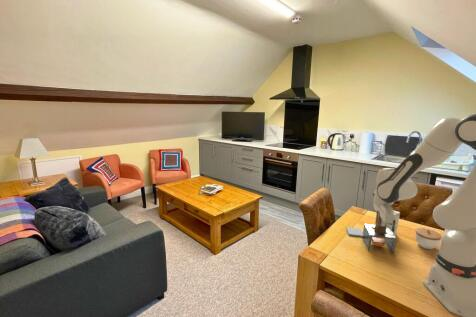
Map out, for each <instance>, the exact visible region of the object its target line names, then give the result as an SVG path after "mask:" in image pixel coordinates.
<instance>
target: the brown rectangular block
mask: <svg viewBox="0 0 476 317" xmlns="http://www.w3.org/2000/svg"><path fill="white" fill-rule="evenodd" d="M381 221H382V219H381V217H380V213H379V211H378V210H377V211H376V216H375V223H374V225H375V229H373V230H374V232H375V233H382V234H385V233H386V226H387V223H385V226H381ZM376 238H377V237H376ZM382 239H383V240H384V239H385V238H382Z"/></svg>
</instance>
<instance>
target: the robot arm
mask: <svg viewBox="0 0 476 317" xmlns="http://www.w3.org/2000/svg"><path fill="white" fill-rule="evenodd" d="M462 144H465V145H467V146H469V147H470V148H472V149H473V150H474V151H476V113H474V114H470V115H468V116H466V117H463V119H460V118H456V117H447V118H442V119H441V120H440V121H439V122H438V123H437V124H436V125H434V126H433V127H432V128H431V130H429V132H428V133H427V134H426V136H425V137H423V139H422V141H420V142H419V144H418V145H417V147H416V148H415V149H414V150H413V151H412V152H411V153H410V154H408V156H407V157H406V158H404V159H403V161H402V162H401V163H399V164H398V166H397V167H396V168H394V167H385V168H384V167H383V168H380V169H379V170H378V171H377V175H376V179H375V180H376V181H375V185H376V186H375V190H374V191H373V192H372V197H373V198H372V203H373V204H372V206H373V208H374V210H375V212H377V210H378V211H379V213H380V217H381V219H382V221H381V226H385V223H390V224H392V223H393V216H394V211H395V210H394V208H393V207H392V206H393V205H394V204H395V202H398V201H399V202H400V201H404V200H408V199H413V198H416V196H417V195H418V192H419V187H418V185H417V183H416V182H415V181H414V180H413V179H411V178H412V177H413V176H414V175H416V174H417V173H418V172H421V171H422V170H426V169H428V168H429V169H430V168H432V167H435V166H437V165H438V166H439V165H441V164H443V163H444V162H446V161H447V160H449V158H451V156H452V155H453V154H454V153H455V152H456V151H457V150H458V148H459V147H460V146H461V145H462ZM432 218H433V220H434V222H435V223H436V225H437V226H439V227H440V228H442V229H444V230H446V231H445V232H444V233H443V235H441V240H440V244H439V245H440V246H439V250H437V253H436V255H435V262H434V263H433V264H432V265H431V267H430V268H429V272H428V274H427V278H426V279H424V280H423V281H422V284H423V285H424V286H425V287H426V288H427V289H428V291H429V292H430V293H432V295H433V296H434V297H435V298H436V299H437V300H438V301H439V303H441V305H442V306H444V307H445V308H446V309H447V311H449V312H450V313H453V314H454V315H456V316H459V317H476V163H474V166H473V167H472V168H471V170H470V171H469V174H468V175H467V176H466V178H465V179H464V181H463V182H462V183H461V184H460V185H459V186H458V187H457V189H455V190H454V191H453V193H451V194H450V195H449V196H448V197H447V198H446V199H445V200H444V201H442V202H440V204H438V205H436V206H435V207H434V208H433V211H432Z"/></svg>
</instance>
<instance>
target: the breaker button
mask: <svg viewBox="0 0 476 317" xmlns="http://www.w3.org/2000/svg"><path fill="white" fill-rule="evenodd" d="M371 244H372V245H373V246H375V247H383V248H385V245H386V243H385V241H384V239H382V238H376V237H372V240H371Z"/></svg>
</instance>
